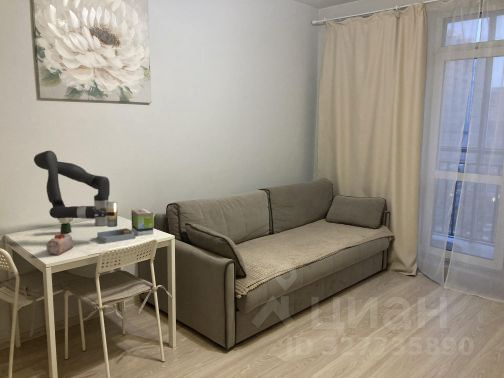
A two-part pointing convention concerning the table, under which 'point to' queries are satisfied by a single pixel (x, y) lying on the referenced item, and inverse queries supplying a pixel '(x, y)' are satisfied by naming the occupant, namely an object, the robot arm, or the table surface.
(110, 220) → the tin can
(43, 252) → the table surface
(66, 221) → the character mug
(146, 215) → the tea box
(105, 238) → the tote
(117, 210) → the robot arm
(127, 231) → the walnut block
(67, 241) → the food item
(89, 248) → the table surface
